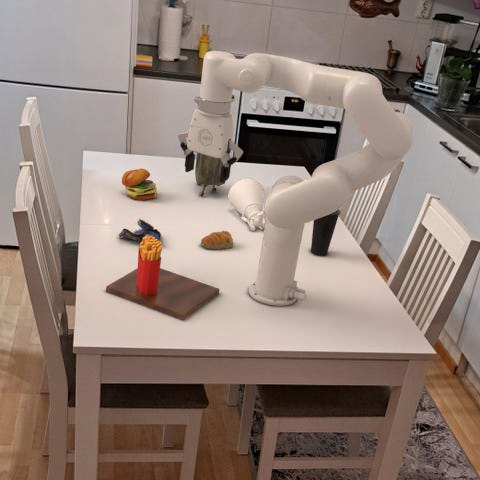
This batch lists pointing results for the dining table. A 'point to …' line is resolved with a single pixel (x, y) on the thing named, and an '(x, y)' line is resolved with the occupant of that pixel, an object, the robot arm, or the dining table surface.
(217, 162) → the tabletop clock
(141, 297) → the cutting board
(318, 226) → the drinking cup
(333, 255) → the dining table surface
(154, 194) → the cheeseburger
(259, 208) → the rocket engine
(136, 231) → the snack package
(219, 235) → the pastry
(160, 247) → the french fries
